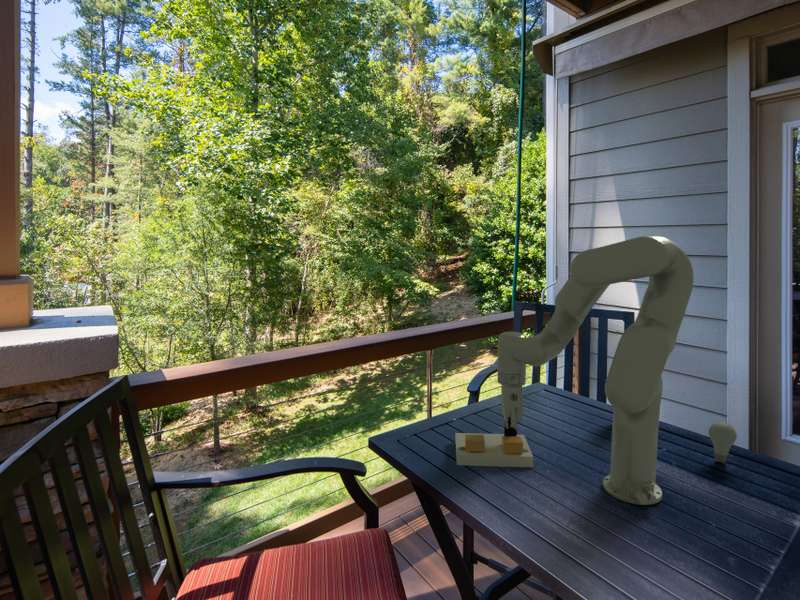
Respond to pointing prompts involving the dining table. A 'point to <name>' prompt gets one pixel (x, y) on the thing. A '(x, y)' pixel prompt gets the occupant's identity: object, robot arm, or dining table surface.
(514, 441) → the right tab
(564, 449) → the dining table surface
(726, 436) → the lightbulb
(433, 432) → the dining table surface
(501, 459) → the switch panel
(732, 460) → the dining table surface
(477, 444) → the left tab
